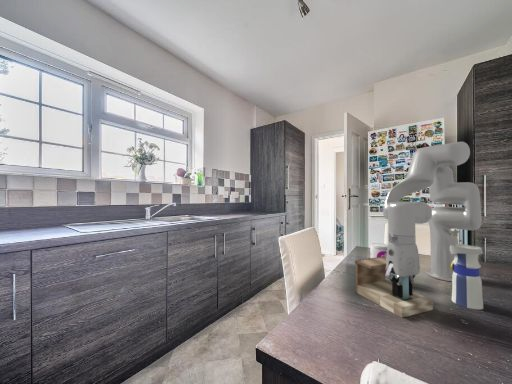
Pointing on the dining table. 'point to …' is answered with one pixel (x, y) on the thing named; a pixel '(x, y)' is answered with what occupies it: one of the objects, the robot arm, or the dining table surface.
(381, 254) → the supplement can
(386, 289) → the socket block
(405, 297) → the peg
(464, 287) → the water bottle
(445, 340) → the dining table surface
